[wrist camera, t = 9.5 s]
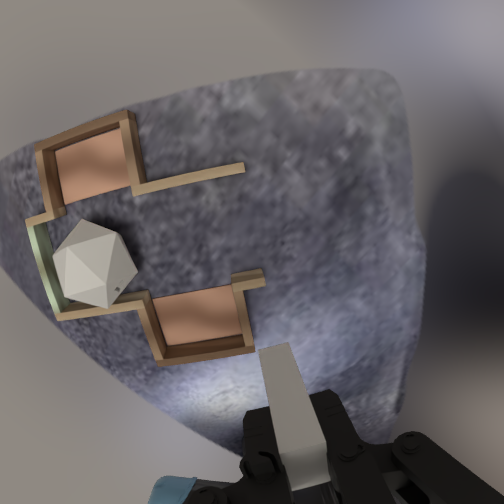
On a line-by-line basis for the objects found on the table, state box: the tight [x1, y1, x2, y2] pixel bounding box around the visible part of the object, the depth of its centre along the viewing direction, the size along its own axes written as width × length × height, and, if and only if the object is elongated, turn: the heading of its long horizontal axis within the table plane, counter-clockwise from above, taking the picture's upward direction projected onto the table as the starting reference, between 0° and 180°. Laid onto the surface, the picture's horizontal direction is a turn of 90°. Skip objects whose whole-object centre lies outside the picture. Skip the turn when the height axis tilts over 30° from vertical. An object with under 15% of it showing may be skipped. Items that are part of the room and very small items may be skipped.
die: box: [52, 219, 138, 309], centre depth 30 cm, size 8×9×10 cm
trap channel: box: [25, 110, 266, 367], centre depth 32 cm, size 29×26×3 cm
